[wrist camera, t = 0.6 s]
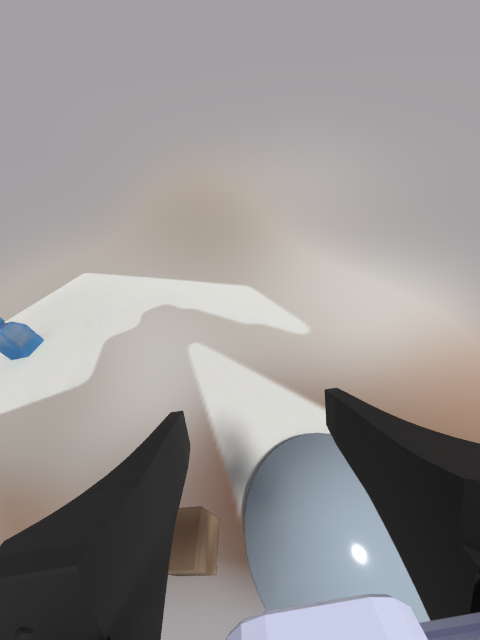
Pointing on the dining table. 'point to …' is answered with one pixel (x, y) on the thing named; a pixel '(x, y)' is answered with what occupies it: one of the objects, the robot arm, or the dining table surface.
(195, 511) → the walnut block
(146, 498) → the robot arm
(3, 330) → the perfume bottle
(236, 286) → the dining table surface
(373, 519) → the slate dish
